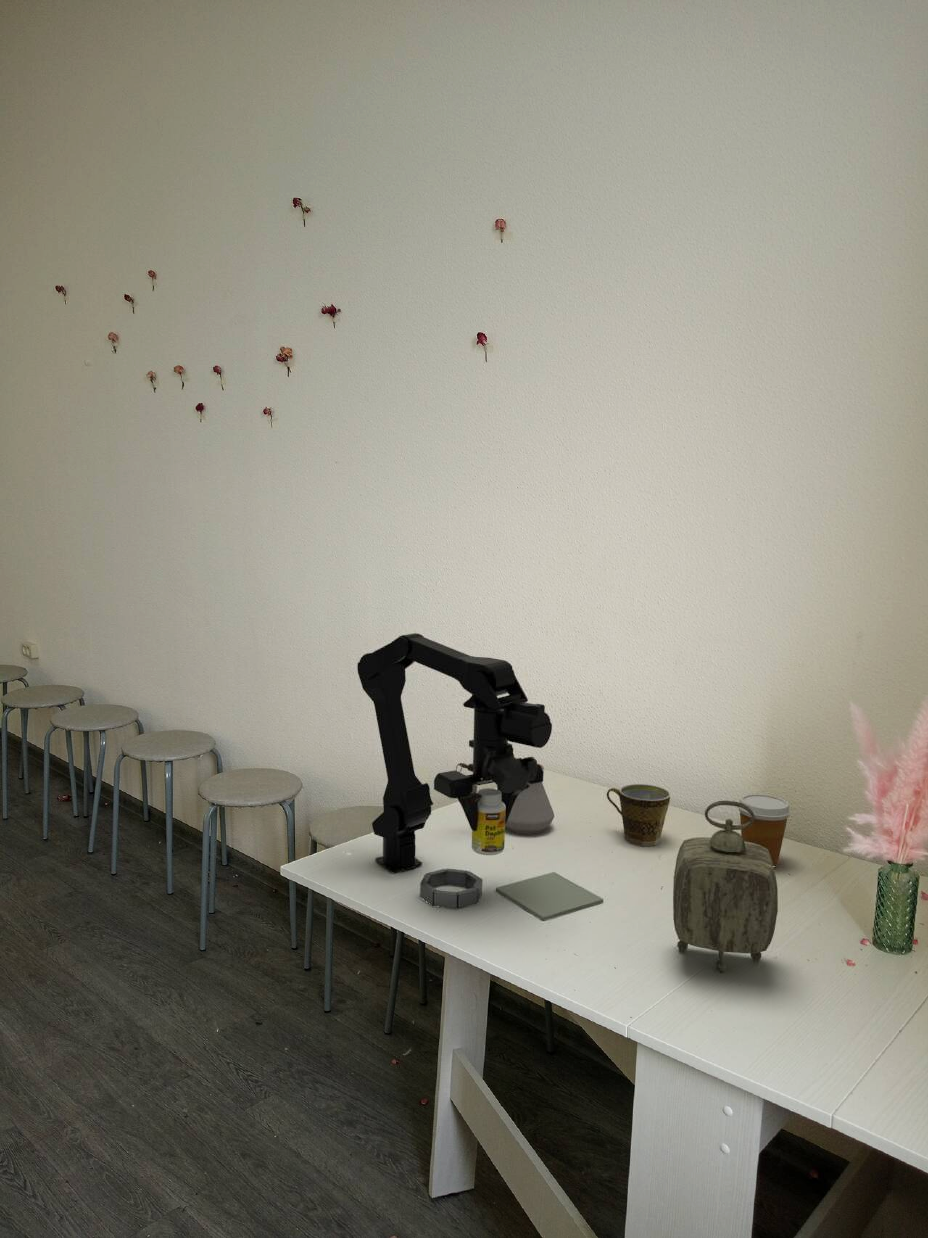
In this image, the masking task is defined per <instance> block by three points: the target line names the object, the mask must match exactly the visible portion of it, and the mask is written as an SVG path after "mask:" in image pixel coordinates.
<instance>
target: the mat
mask: <svg viewBox="0 0 928 1238" xmlns="http://www.w3.org/2000/svg"><path fill="white" fill-rule="evenodd" d="M495 892H496V893H498V894H500V895H502V896H503V897H504V898H506V899H507V900H510V901H511V902H512V903H514V904H516V905H517V906H519V907H521V908H522V909H524V911H527V912H528V913H530V914H532V915H533V916H535V917H537V919H540V920H541V921H543V922H544V921H547V920H551V919H554V918H556V917H560V916H564V915H567V914H571V913H573V912H576V911H580V910H583V909H587V908H591V907H593V906H597V905H601V904H603V903H604V898H602V897H600V896H599V895H597V894H595V893H593V892H592V891H590V890H588V889H587V888H584V887H583V886H580V885H578V884H577V883H575V882H573V881H571V880H570V879H568V878H566V877H564V876H562V875H560V874H559V873H557V872H555V871H552V872H549V873H545V874H542V875H537V876H534V877H531V878H526V879H522V880H520V881H516V882H512V883H509V884H505V885H501V886H496V887H495Z"/></svg>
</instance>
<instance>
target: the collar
mask: <svg viewBox="0 0 928 1238" xmlns="http://www.w3.org/2000/svg"><path fill="white" fill-rule="evenodd" d="M446 885H449V886H456V887H465V888H467V889H464V890H460V891H459V890H458V891H450V890H449V891H448V890H441V889H439V890H438V889H436V888H439V887H443V886H446ZM419 886H420V887H419V897H421V898H420V899H422V898H423V899H424V900H425V901H424V900H423V899H422V900H423V901H424V902H426V901H427V902H428V904H429V903H430V904H431V905H432V906H431V905H430V904H429V905H430V906H431V907H434V906H439V907H438V908H441V907H444V908H443V909H451V910H460V909H464V908H467V907H471V906H475V905H477V904H479V902H480V900H481V898H482V895H483V878H482V877H480V876H478V875H476V874H475V873H473V872H471V871H470V870H466V869H465V870H464V869H463V870H462V869H453V868H441V869H438V870H433V871H430V872H426V873H425V874H424V875H423V877H422V879H421V881H420V883H419ZM427 902H426V903H427Z"/></svg>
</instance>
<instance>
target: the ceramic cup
mask: <svg viewBox="0 0 928 1238" xmlns="http://www.w3.org/2000/svg"><path fill="white" fill-rule="evenodd" d="M610 792H613V793H615V794H616V795H617V796H618V797H619V804H620V808H619V806H618V805H617V804H616V803H615V802H614V801H613V800H612V799H611V797H610ZM606 798H607V800H608V802H609V803H610V804H611V805H612V806H613V807H614V808H615V809H616V811H617V812H618V813H619V815H620V816H621V818H622V826H623V836H624V839H625V841H627V842H628V843H629V844H631V845H635V846H638V845H639V847H652V846H651V845H655V846H656V845H657V844H659V843H660V841H661V836H662V833H663V828H664V824H665V821H666V815H667V814H668V809H669V805H670V802H671V801H670V800H671V792H669V790H667V789H665V788H663V787H661V786H656V785H651V784H644V783H643V784H642V783H632V784H626V785H623V786H622V787H620V788H619V789H618V788H615V787H612V788H609V789H608V790H607V792H606Z"/></svg>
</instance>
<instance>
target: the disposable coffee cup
mask: <svg viewBox="0 0 928 1238" xmlns="http://www.w3.org/2000/svg"><path fill="white" fill-rule="evenodd" d="M738 802H739V803H743V804H744V805H746V806H748V807H749V808H750V809H751V810H752V811H753V813H754V816H755V820H754V822H753V824H752V825H751V826H749V827H748V828H745V829H741V830H740V835H741V836H742V837H743V839H744V841H745V842H750V843H755V844H758V845H760V846H762V847H764V848H766V849H768V851H769V853H770V856H771V859H772V863H773V866H776V865H777V864H779V859H780V855H781V849H782V845H783V841H784V837H785V836H784V835H785V831H786V828H787V821H788V818H789V817H790V815H791V813H792V811H791V809H790V806H789V801H787V800H785V799H783V798H780V797H778V796H774V795H770V794H763V793H762V794H761V793H750V794H745V795H742V796H741V797H740V799H739V801H738ZM737 808H738V812H739V815H740V817H739V820H740V825H743V824H746V823H749V822H750V821H751V819H752V817H751V815H750V813H749V812H748V811H746V810H745V809H743V808H741V807H737ZM777 866H778V865H777Z"/></svg>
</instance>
